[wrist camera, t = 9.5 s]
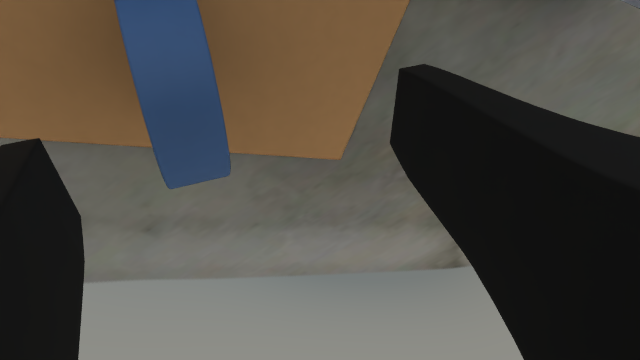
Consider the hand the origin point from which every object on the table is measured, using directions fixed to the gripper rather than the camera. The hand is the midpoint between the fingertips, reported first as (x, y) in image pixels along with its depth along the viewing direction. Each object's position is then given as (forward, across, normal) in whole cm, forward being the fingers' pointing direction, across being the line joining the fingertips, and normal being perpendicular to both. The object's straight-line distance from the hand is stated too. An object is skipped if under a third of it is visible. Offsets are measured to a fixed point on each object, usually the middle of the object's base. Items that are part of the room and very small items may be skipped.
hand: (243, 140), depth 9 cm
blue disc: (+6, +1, +2) cm, 7 cm away
